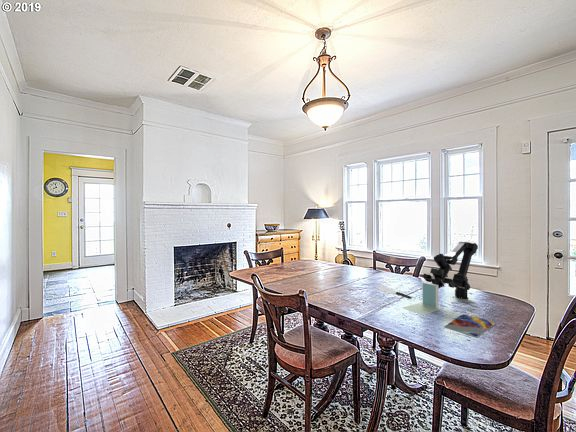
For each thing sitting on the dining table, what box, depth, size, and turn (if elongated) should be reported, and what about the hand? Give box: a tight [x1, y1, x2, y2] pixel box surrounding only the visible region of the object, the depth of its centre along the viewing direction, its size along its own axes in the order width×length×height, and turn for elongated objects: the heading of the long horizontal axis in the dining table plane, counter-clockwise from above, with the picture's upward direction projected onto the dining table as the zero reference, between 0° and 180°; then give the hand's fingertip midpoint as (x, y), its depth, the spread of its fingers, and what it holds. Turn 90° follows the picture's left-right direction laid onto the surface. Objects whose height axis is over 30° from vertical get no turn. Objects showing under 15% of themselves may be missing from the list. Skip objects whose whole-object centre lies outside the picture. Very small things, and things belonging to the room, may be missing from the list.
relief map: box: [443, 314, 497, 338], centre depth 146 cm, size 25×15×2 cm, turn 127°
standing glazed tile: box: [422, 281, 439, 308], centre depth 174 cm, size 3×9×14 cm, turn 29°
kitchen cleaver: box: [375, 285, 413, 300], centre depth 203 cm, size 31×2×10 cm
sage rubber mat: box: [402, 301, 444, 316], centre depth 171 cm, size 20×14×1 cm
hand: (432, 290), depth 175 cm, fingers closed
